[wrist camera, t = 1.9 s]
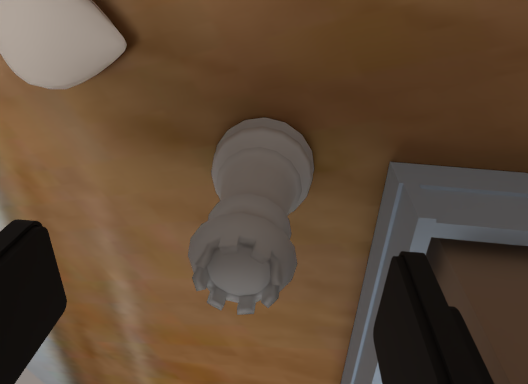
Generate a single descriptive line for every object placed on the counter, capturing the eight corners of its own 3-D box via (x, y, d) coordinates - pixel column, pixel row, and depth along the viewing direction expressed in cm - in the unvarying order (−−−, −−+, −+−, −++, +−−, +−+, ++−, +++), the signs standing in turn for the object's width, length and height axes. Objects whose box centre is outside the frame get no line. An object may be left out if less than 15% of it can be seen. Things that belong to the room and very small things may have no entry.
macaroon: (9, -41, 15) (-42, -43, 13) (138, -20, 15) (109, -19, 13) (27, 73, 17) (-14, 88, 15) (140, 92, 17) (115, 110, 15)
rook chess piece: (262, 220, 19) (238, 357, 12) (196, 157, 18) (126, 272, 11) (335, 165, 18) (352, 291, 11) (266, 92, 16) (235, 180, 9)
